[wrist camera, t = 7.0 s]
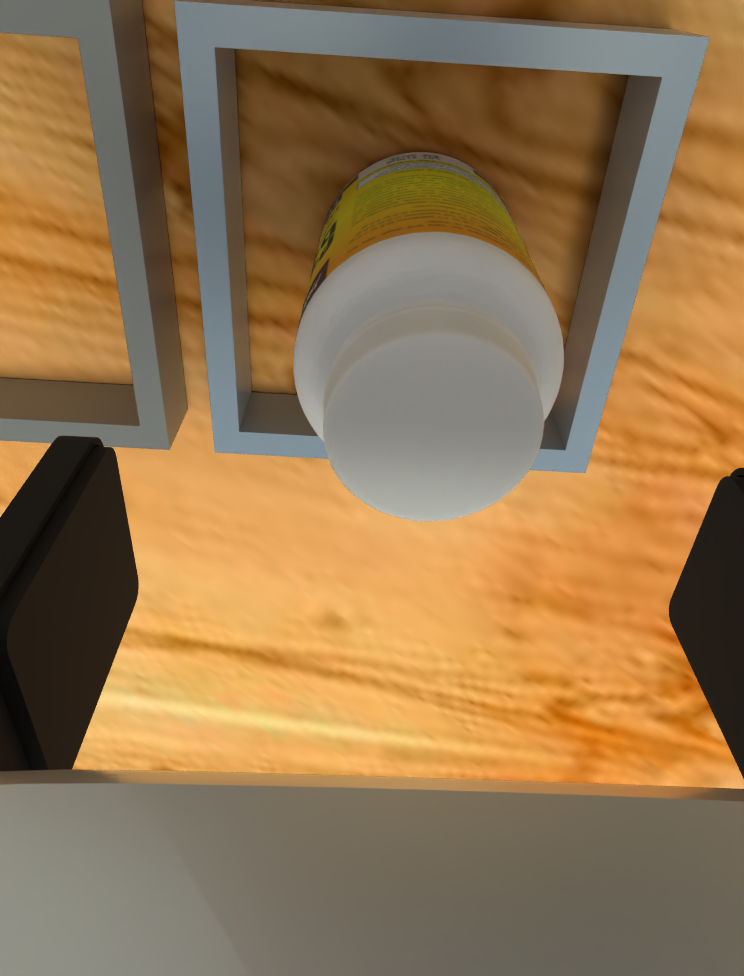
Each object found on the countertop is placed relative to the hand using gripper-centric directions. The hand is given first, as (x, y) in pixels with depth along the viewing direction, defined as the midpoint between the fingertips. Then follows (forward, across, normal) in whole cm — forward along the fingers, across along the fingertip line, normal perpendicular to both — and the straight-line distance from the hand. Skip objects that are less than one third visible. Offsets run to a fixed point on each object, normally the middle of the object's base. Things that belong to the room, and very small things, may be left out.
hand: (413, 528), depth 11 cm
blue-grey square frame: (+12, -1, -1) cm, 12 cm away
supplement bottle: (+12, -1, -1) cm, 12 cm away
